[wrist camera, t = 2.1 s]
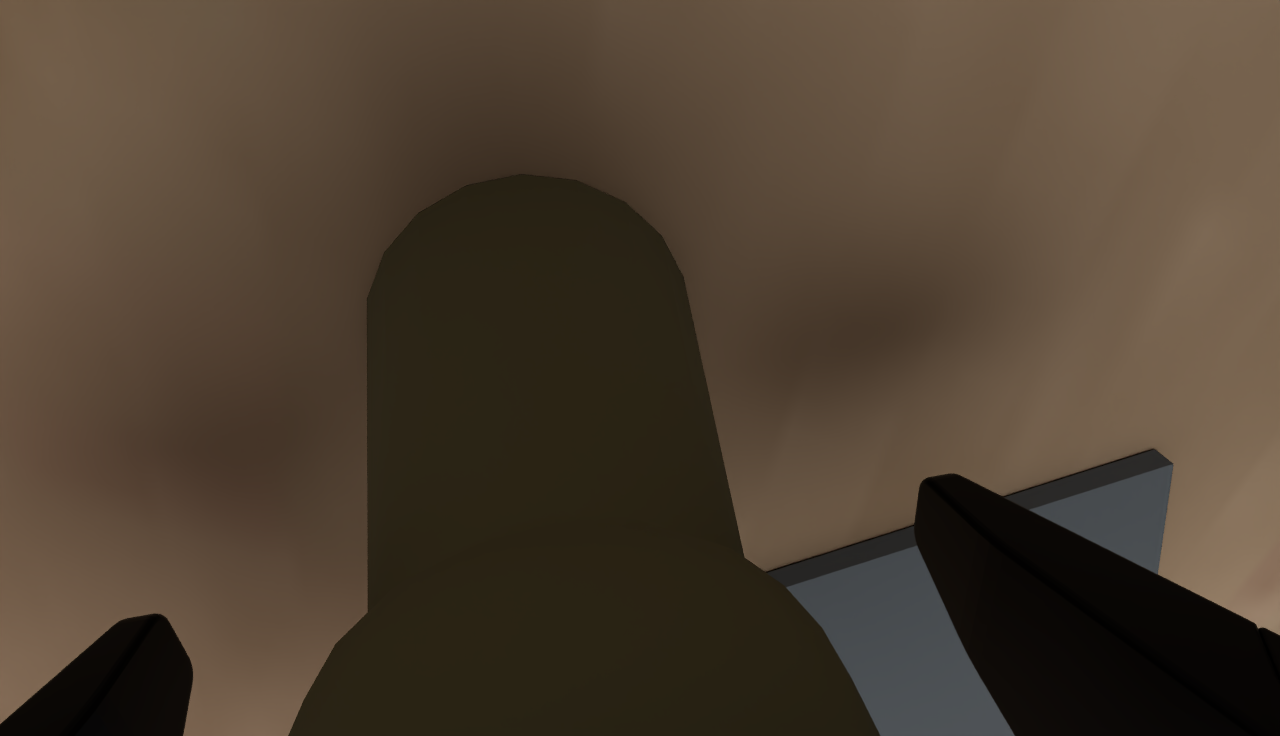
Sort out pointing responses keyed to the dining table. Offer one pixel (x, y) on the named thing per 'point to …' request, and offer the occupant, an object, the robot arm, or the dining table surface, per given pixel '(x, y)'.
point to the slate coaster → (917, 619)
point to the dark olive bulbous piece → (556, 498)
